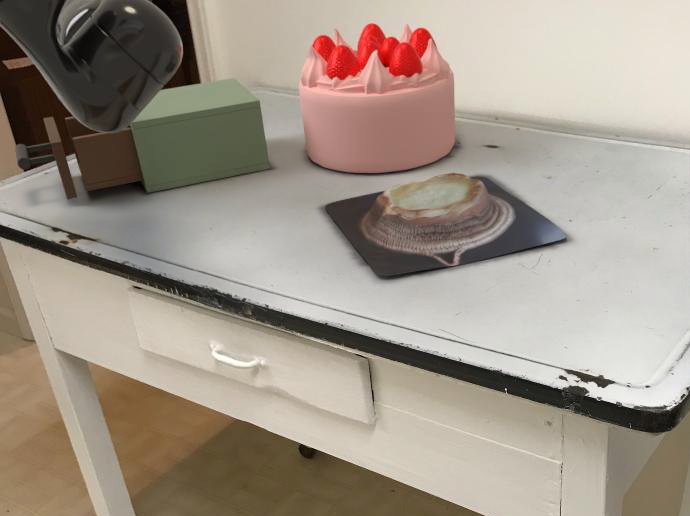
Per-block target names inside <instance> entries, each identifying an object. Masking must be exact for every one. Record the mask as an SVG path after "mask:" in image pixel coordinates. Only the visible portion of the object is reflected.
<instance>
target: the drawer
mask: <svg viewBox="0 0 690 516" xmlns="http://www.w3.org/2000/svg"><path fill="white" fill-rule="evenodd" d="M64 120H65V123H66V127H67V130H68V134H69V139H70V142H71V145H72V148H73V152H74V156H75V159H76V163H77V166H78V167H77V168H78V170H79V173H80V174H81V177H82V180H83V184H84V185H85V188H86V191H87V192H90V191H95V190H100V189H105V188H106V189H107V188H110V187H111V188H112V187H115V186H116V187H117V186H121V185H127V184H132V183H136V182H141V181H142V180H144V179H143V175H142V171H141V166H140V162H139V158H138V154H137V150H136V145H135V141H134V137H133V133H132V129H131V126H130V125H129V126H128V127H127V128H125V129H124V130H123V131H121V132H118V133H102V132H97V131H94V130H92V129H90V128H88V127H86V126H84V125H83V124H81V123H80V122H79V121H78V120H77V119H75V118H74V117H73V116H68V117H64ZM43 122H44V126H45V130H46V133H47V136H48V140H49V142H44V143H39V144H33V145H29V146H28V145H25V144H24V143H18V144H16V145H15V148H14V152H15V157H16V163H17V166H18V168H19V169H21V170H25V171H26V170H28V169H30V168H31V165H35V164H41V163H48V162H52V161H55V163H56V166H57V170H58V173H59V177H60V180H61V183H62V187H63V190H64V193H65V197H66V200H72V199H78V194H77V191H76V187H75V183H74V180H73V177H72V174H71V173H72V172H71V169H70V167H69V163H68V159H67V156H66V153H65V149H64V144H63V142H62V139H61V136H60V132H59V129H58V128H57V124H56V121H55V118H54V116H49V117H43ZM51 149H52V153H51V154H46V155H40V156H35V157H30V154H29V153H33V152H39V151H45V150H51Z"/></svg>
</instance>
